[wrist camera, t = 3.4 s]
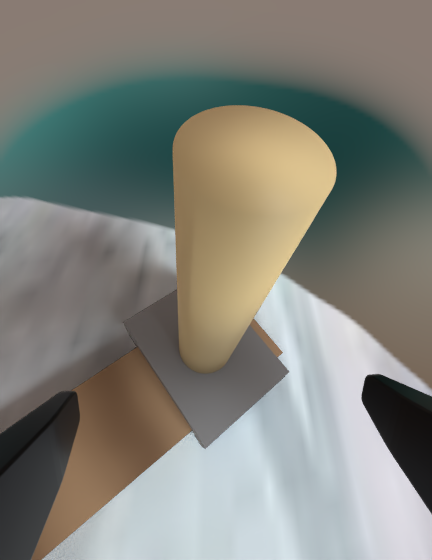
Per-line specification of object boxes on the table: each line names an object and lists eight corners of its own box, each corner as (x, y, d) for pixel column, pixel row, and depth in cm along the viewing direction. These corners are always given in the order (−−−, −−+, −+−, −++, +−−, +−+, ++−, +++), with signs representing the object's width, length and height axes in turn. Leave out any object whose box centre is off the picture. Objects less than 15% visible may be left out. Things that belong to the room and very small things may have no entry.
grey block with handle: (202, 447, 17) (312, 507, 3) (131, 338, 19) (-2, 81, 5) (273, 383, 19) (536, 230, 5) (201, 294, 22) (237, 30, 8)
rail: (-65, 649, 12) (-104, 683, 11) (-98, 515, 14) (-136, 526, 13) (274, 359, 21) (282, 352, 19) (223, 299, 22) (227, 287, 21)
